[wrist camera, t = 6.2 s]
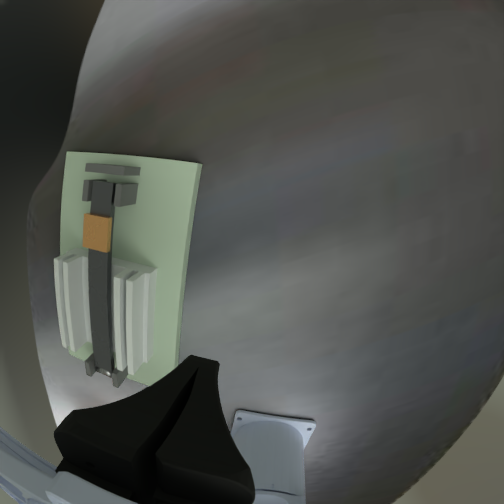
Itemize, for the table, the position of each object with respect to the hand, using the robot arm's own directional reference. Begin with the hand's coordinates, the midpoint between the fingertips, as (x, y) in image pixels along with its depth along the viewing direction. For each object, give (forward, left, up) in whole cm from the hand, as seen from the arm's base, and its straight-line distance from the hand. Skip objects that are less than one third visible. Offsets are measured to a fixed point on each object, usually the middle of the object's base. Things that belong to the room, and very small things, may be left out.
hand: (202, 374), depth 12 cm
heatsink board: (-1, +10, -10) cm, 14 cm away
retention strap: (-1, +10, -8) cm, 13 cm away
